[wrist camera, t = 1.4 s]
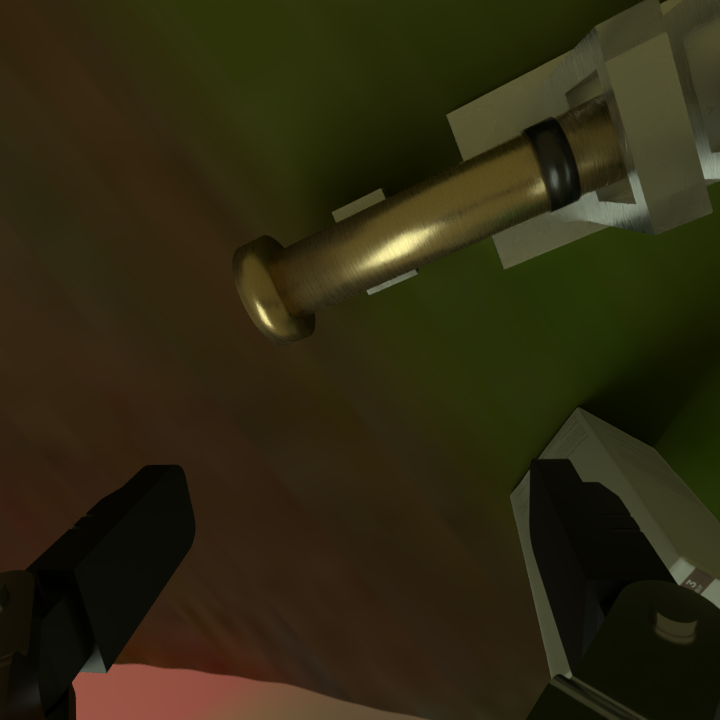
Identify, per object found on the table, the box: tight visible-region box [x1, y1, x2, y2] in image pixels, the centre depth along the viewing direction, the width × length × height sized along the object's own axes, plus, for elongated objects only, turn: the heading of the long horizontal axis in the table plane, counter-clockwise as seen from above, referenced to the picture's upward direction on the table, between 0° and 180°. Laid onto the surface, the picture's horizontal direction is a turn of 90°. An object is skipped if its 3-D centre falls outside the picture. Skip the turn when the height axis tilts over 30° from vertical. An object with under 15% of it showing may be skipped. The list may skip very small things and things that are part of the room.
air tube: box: [232, 93, 628, 346], centre depth 23 cm, size 19×6×6 cm, turn 115°
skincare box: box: [510, 407, 720, 679], centre depth 26 cm, size 8×6×15 cm
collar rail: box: [332, 0, 720, 295], centre depth 21 cm, size 24×10×12 cm, turn 115°
